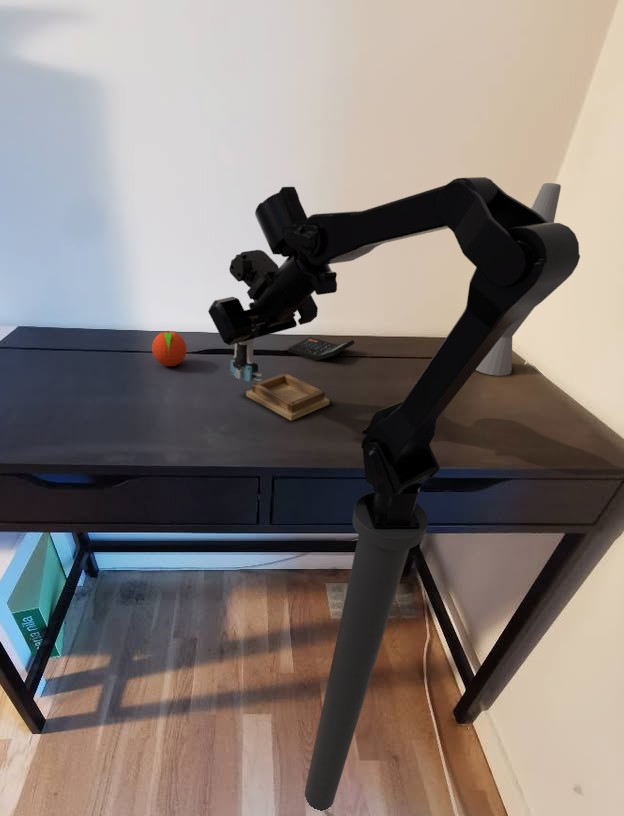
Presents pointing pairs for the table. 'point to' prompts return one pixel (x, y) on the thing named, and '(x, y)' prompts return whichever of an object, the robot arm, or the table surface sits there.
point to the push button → (245, 360)
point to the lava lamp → (501, 353)
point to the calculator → (318, 348)
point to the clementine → (169, 348)
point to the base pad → (288, 396)
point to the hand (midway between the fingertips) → (241, 338)
